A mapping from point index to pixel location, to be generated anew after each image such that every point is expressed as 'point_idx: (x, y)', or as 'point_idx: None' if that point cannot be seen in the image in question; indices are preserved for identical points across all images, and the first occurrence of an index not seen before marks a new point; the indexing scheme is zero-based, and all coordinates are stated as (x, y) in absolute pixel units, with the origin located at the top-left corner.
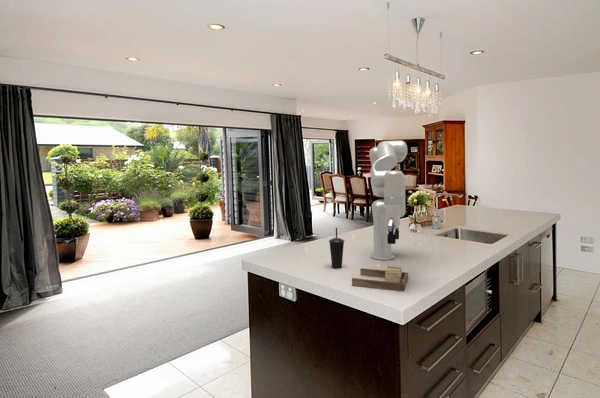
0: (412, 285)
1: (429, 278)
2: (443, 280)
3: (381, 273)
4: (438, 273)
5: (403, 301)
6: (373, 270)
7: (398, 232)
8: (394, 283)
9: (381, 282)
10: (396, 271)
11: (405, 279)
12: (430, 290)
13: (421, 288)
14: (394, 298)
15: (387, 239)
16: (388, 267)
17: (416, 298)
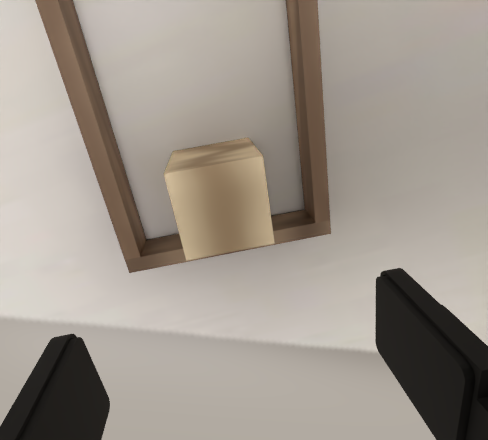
0: (237, 260)
1: (364, 289)
2: (356, 335)
3: (299, 84)
4: (446, 299)
5: (17, 289)
6: (298, 24)
7: (440, 427)
8: (115, 231)
9: (93, 162)
10: (182, 238)
11: (206, 257)
12: (211, 330)
13: (217, 299)
14: (23, 249)
15: (28, 380)
16: (214, 179)
17: (87, 317)
